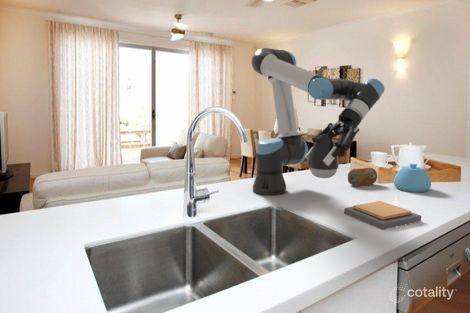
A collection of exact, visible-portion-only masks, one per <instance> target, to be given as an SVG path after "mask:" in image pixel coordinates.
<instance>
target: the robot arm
mask: <svg viewBox="0 0 470 313" xmlns="http://www.w3.org/2000/svg"><path fill="white" fill-rule="evenodd" d="M251 66H252V69H253V70H254V72H256V73H257V74H259V75H262V76H263V77H267V79H268V82H269V83H270V84H271V86H272V87H271V88H272V94H273V101H274V108H275V116H276V123H277V129H278V130H277V131H278V135H276V137H272V138H263V139H261V140H259V141H258V142H257V144H256V151H255V153H256V175H255V178H254V181H253V183H252V192H253V193H256V194H257V195H266V196H276V195H277V196H278V195H283V194H285V193H286V192H287V184H286V181H285V178H284V175H283V172H284V171H283V169H284V168H283V167H284V166H285V167H286V166H291V165H298V164H299V163H302V162H303V161H305V159H306V160H307V161H308V162H309V160H310V155H311V151H312V148H313V145H312V147H311V148H310V149H309V147H308V146H309V145H308V144H307V142H306V141H305V140H304V139H302V134H301V133H300V132H298V128H297V121H296V114H295V106H294V100H293V99H294V98H293V90H292V87H295V88H297V89H299V90H300V91H301V90H302V91H304V92H306V93H308V94H309V95H310V97H311V98H313V99H314V100H320V101H324V100H325V101H327V100H342V101H343V100H344V101H348V103H347V105H346V106H345V107H344V109H343V110H342V111H341V112H340V113H339V115H338V121H336V122H335V123H334V124H333V123H332V122H329V123H328V124H327V126H326V127H325V128H323V130H322V131H321V132H319V133H318V134H317V135H316V137H314V138H318V137H319V136H320V135H323V134H326V135H329V136H330V137H331V138H332V139H333V138H336V137H337V136H338V139H337V142H336V144H335V143H334V144H335V146H334V147H333V148H332V150H331V151H330V152H329V153H328V155H327V156H326V157H325V158H324V160H323V161H324V163H325V164H326V165H327V166H329V165H330V164H331V162H332V161H333V160H334V159H335V158H336V157H337V156H338V157H339V154H340V153H341V152H343V151H345V152H346V151H348V150H349V149H350V147H351V145H352V143H353V140H354V139H355V137H356V135H357V134H358V132H360V128H359V127H358V126H359V125H360V123H362V121H363V120H364V119H365V117H366V116H367V115H368V113H369V112H370V111H371V109H372V108H373V107H374V106H375V104H376V103H377V102H378V101H379V100H380V98H381V97H382V95H383V94H384V92H385V85H384V84H383V82H382V81H380V80H378V79H377V78H369V79H367V80H366V81H365V82H364V83H363V82H357V81H352V80H349V79H346V78H339V77H335V78H328V77H324V76H323V75H320V74H319V73H318V74H317V73H315V72H312V71H311V70H307V69H305V68H303V67H300V66H298V65H297V60H296V58H295V55H294V54H293V53H291V51H287V50H285V49H275V48H269V47H268V48H267V47H262V48H260V49H257V50H256V51H255V52H253V55H252V57H251ZM312 142H313V144H314V143H315V141H313V140H312Z"/></svg>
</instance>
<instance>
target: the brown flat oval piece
mask: <svg viewBox="0 0 470 313" xmlns="http://www.w3.org/2000/svg"><path fill="white" fill-rule="evenodd" d="M377 180H378V172H377V170H376V169H375V168H372V167H361V168H360V167H359V168H353V169H351V170H350V171H349V172H348V174H347V182H348V183H349V185H351V186H354V187H364V186H366V187H367V186H372V185H374V184H375V183H376V182H377Z"/></svg>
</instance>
